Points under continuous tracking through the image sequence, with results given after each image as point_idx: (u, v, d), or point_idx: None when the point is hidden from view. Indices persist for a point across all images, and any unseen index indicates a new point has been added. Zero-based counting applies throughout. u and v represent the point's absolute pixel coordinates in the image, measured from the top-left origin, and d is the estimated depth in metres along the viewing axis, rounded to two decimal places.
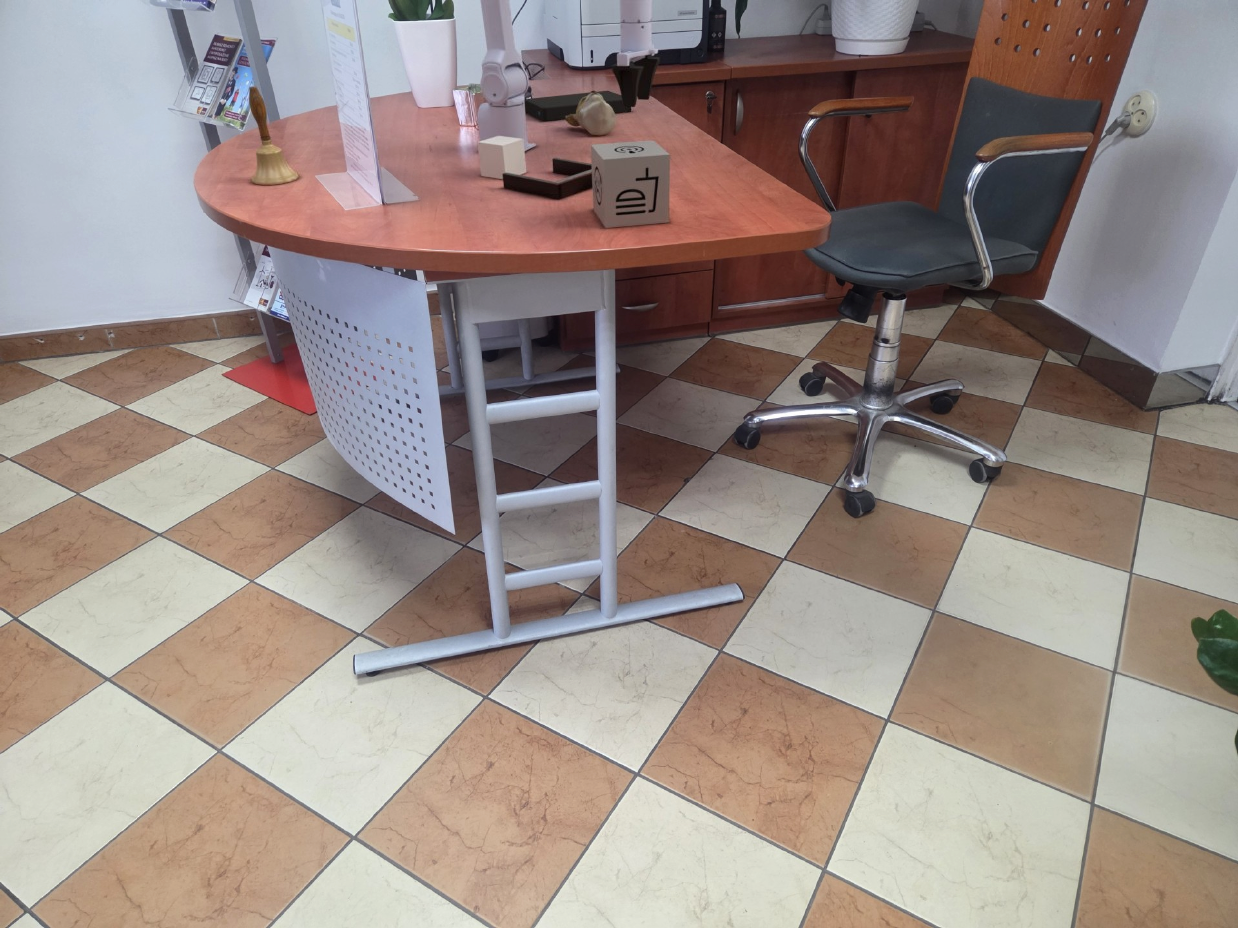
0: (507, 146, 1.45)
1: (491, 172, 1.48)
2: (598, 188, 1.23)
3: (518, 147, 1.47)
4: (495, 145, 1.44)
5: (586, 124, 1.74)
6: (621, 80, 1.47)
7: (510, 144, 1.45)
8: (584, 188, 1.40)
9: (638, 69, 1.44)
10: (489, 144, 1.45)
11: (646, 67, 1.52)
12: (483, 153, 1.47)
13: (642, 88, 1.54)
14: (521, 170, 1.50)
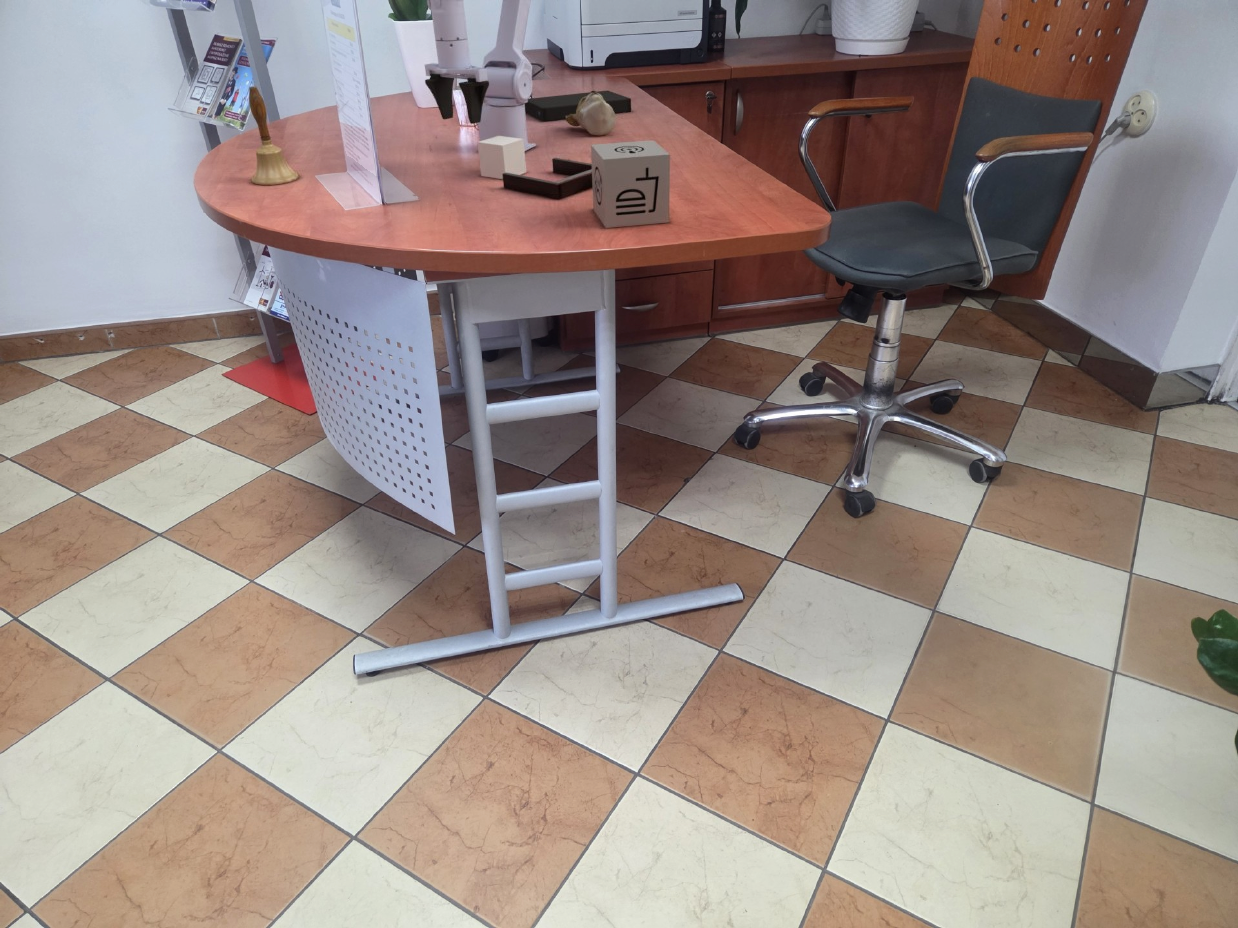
0: (507, 146, 1.45)
1: (491, 172, 1.48)
2: (598, 188, 1.23)
3: (518, 147, 1.47)
4: (495, 145, 1.44)
5: (586, 124, 1.74)
6: None
7: (510, 144, 1.45)
8: (584, 188, 1.40)
9: (425, 81, 1.48)
10: (489, 144, 1.45)
11: None
12: (483, 153, 1.47)
13: None
14: (521, 170, 1.50)
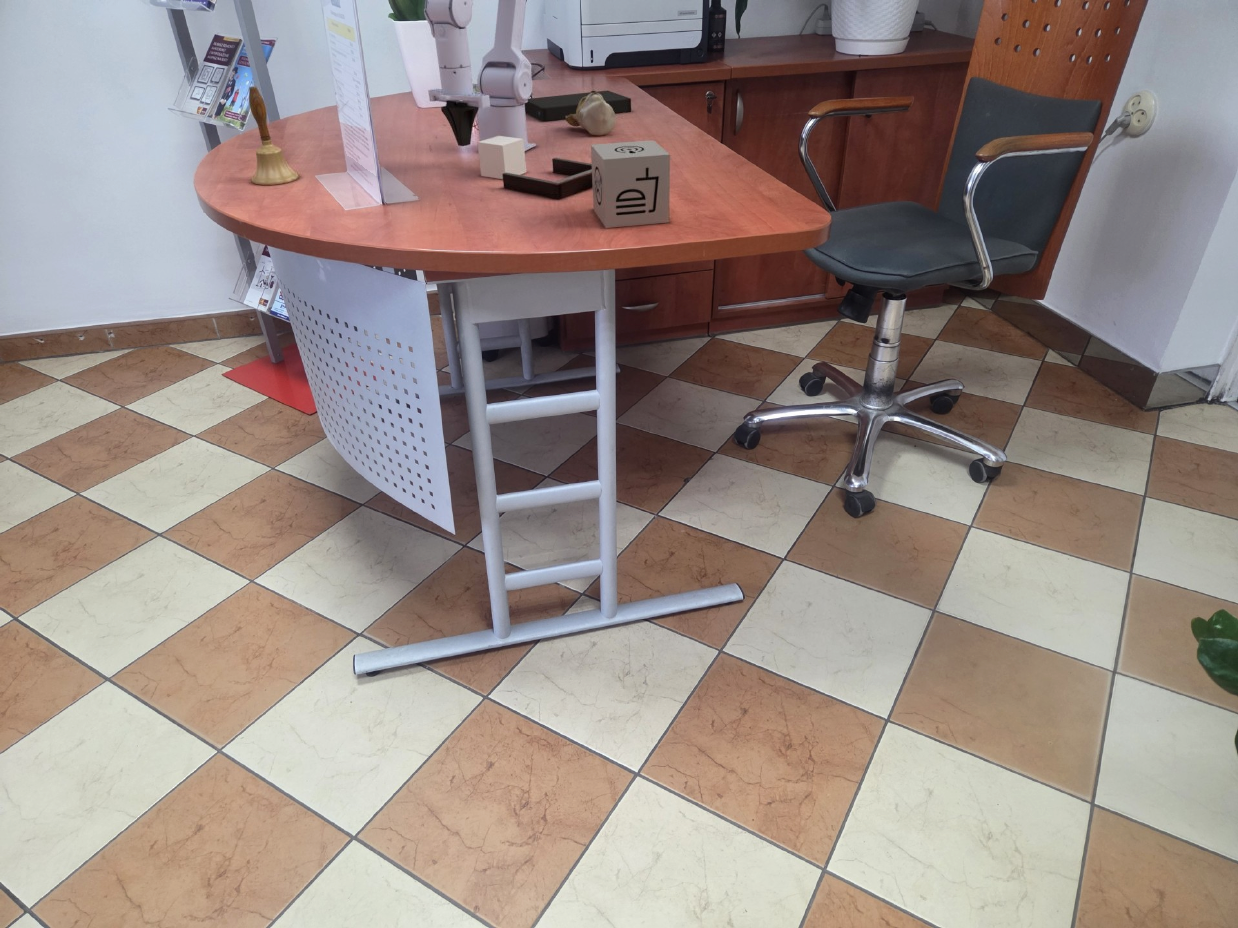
0: (507, 146, 1.45)
1: (491, 172, 1.48)
2: (598, 188, 1.23)
3: (518, 147, 1.47)
4: (495, 145, 1.44)
5: (586, 124, 1.74)
6: None
7: (510, 144, 1.45)
8: (584, 188, 1.40)
9: (441, 108, 1.49)
10: (489, 144, 1.45)
11: None
12: (483, 153, 1.47)
13: None
14: (521, 170, 1.50)
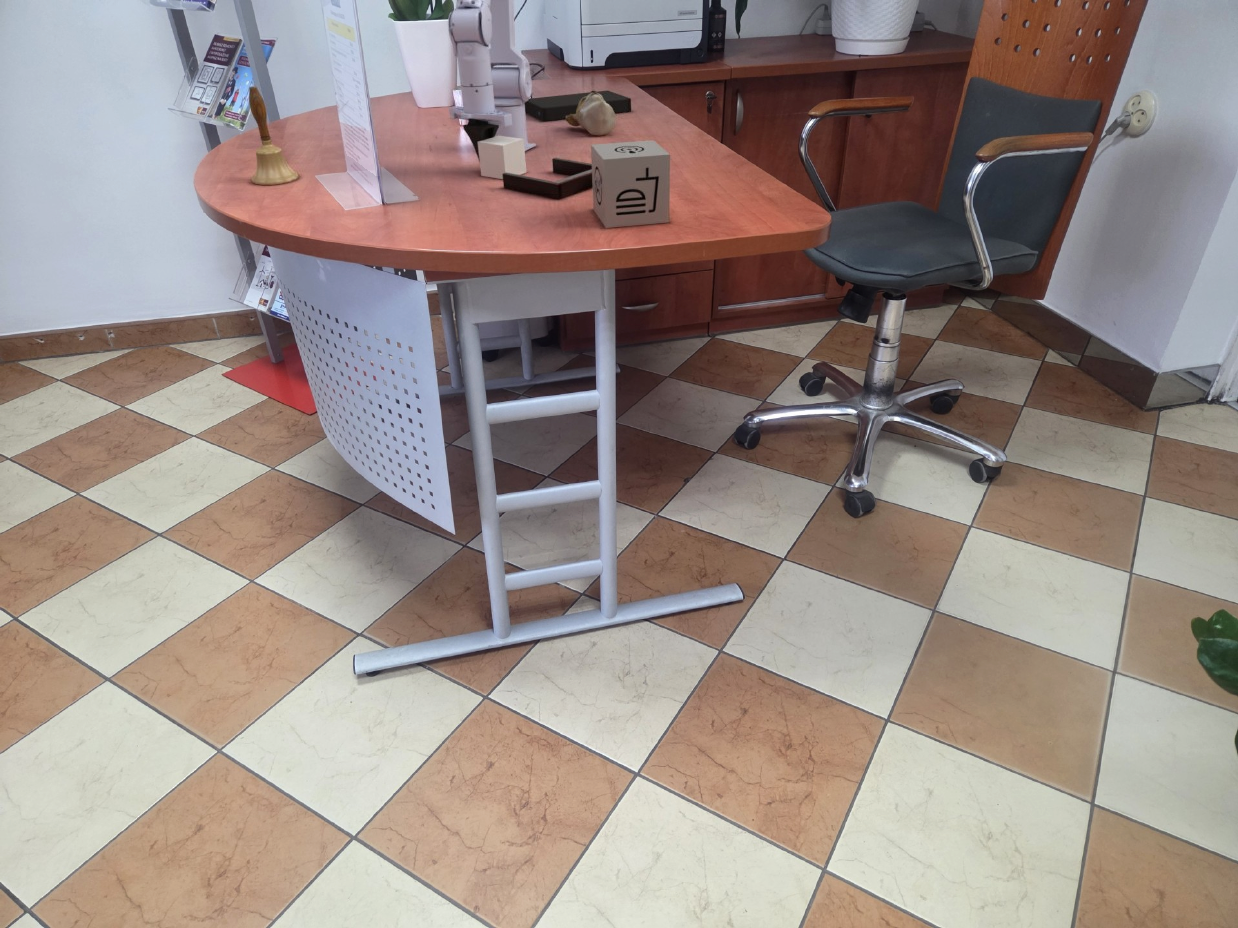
0: (507, 146, 1.45)
1: (491, 172, 1.48)
2: (598, 188, 1.23)
3: (518, 147, 1.47)
4: (495, 145, 1.44)
5: (586, 124, 1.74)
6: None
7: (510, 144, 1.45)
8: (584, 188, 1.40)
9: (463, 127, 1.48)
10: (489, 144, 1.45)
11: None
12: (483, 153, 1.47)
13: None
14: (521, 170, 1.50)
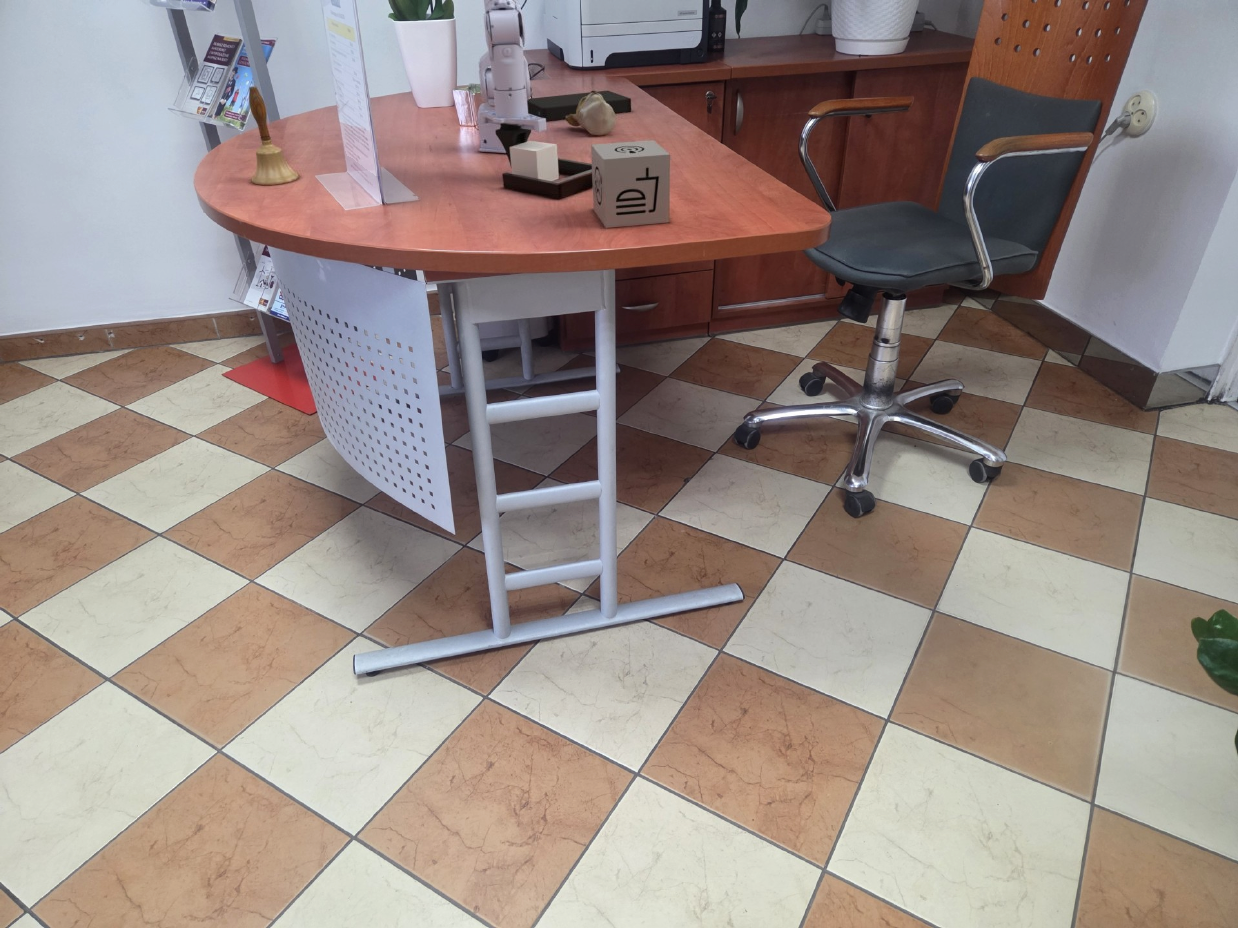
0: (541, 152, 1.40)
1: None
2: (598, 188, 1.23)
3: (551, 153, 1.43)
4: (528, 151, 1.40)
5: (586, 124, 1.74)
6: None
7: (544, 150, 1.41)
8: (584, 188, 1.40)
9: (495, 132, 1.43)
10: (522, 149, 1.41)
11: None
12: (515, 159, 1.42)
13: None
14: (554, 176, 1.45)
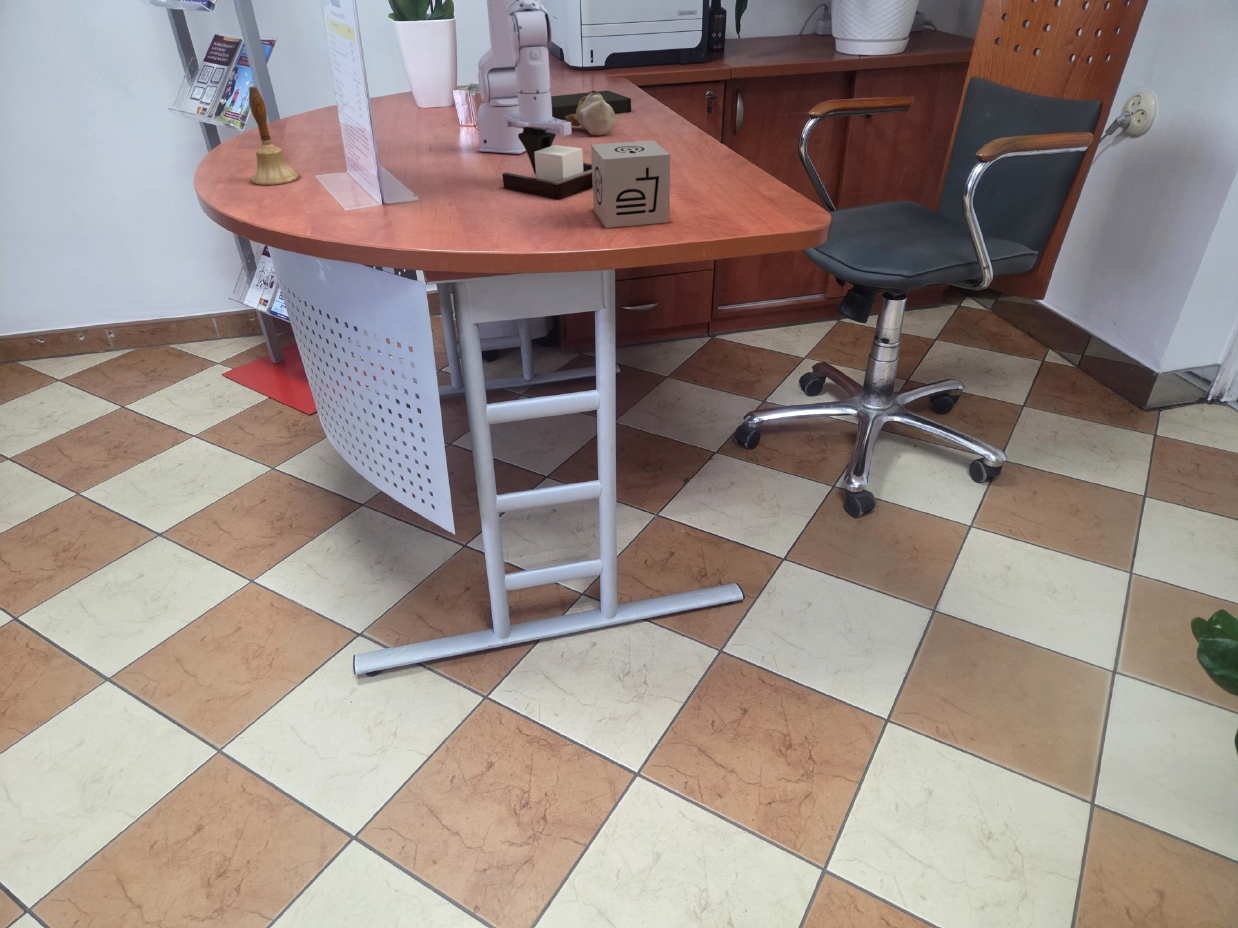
0: (567, 156, 1.37)
1: None
2: (598, 188, 1.23)
3: (577, 157, 1.40)
4: (554, 155, 1.37)
5: (586, 124, 1.74)
6: None
7: (569, 154, 1.38)
8: (584, 188, 1.40)
9: (518, 135, 1.40)
10: (547, 154, 1.38)
11: None
12: (540, 163, 1.39)
13: None
14: None
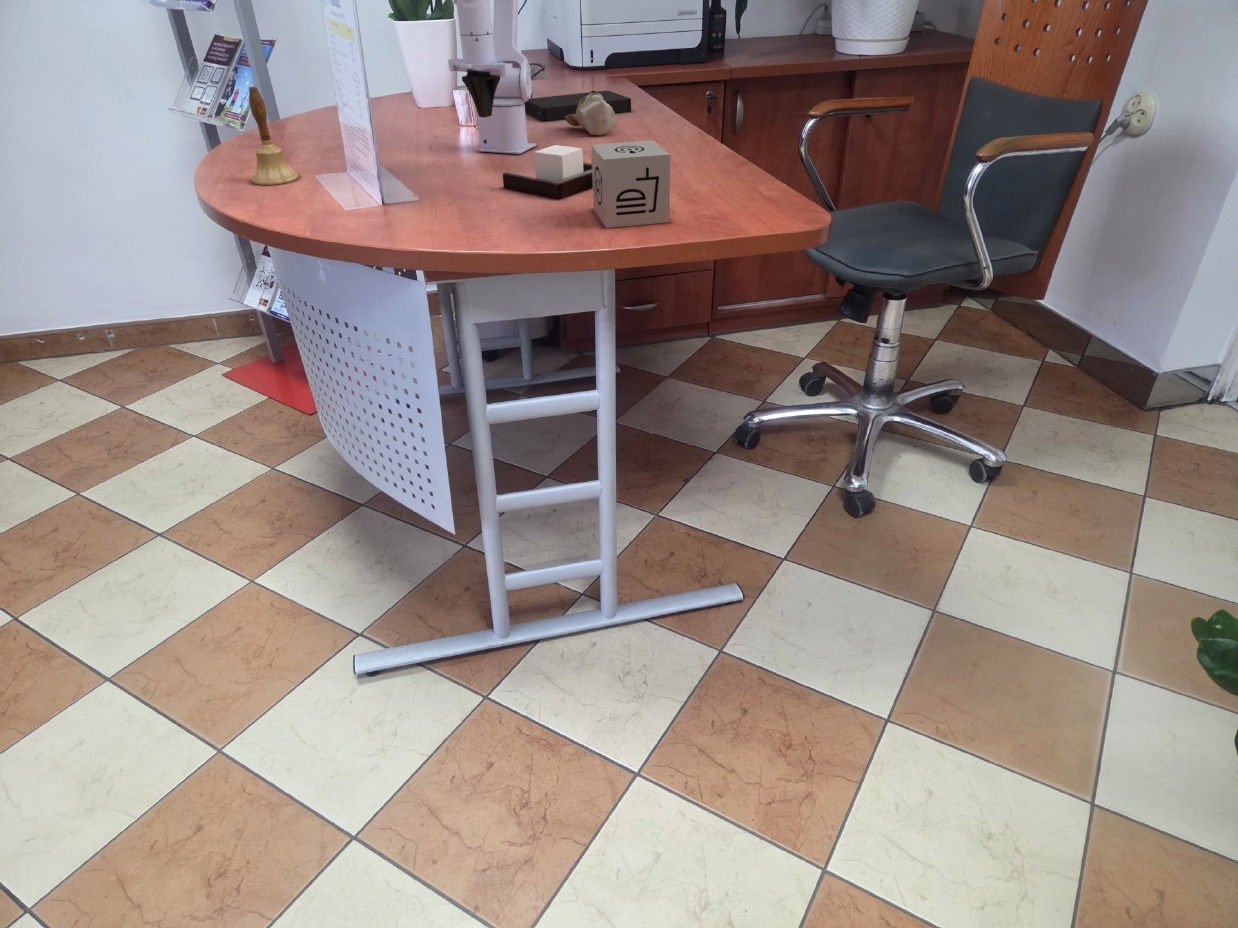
0: (566, 156, 1.37)
1: None
2: (598, 188, 1.23)
3: (577, 157, 1.40)
4: (554, 155, 1.37)
5: (586, 124, 1.74)
6: None
7: (569, 154, 1.38)
8: (584, 188, 1.40)
9: (462, 78, 1.45)
10: (547, 154, 1.38)
11: None
12: (540, 163, 1.39)
13: None
14: None
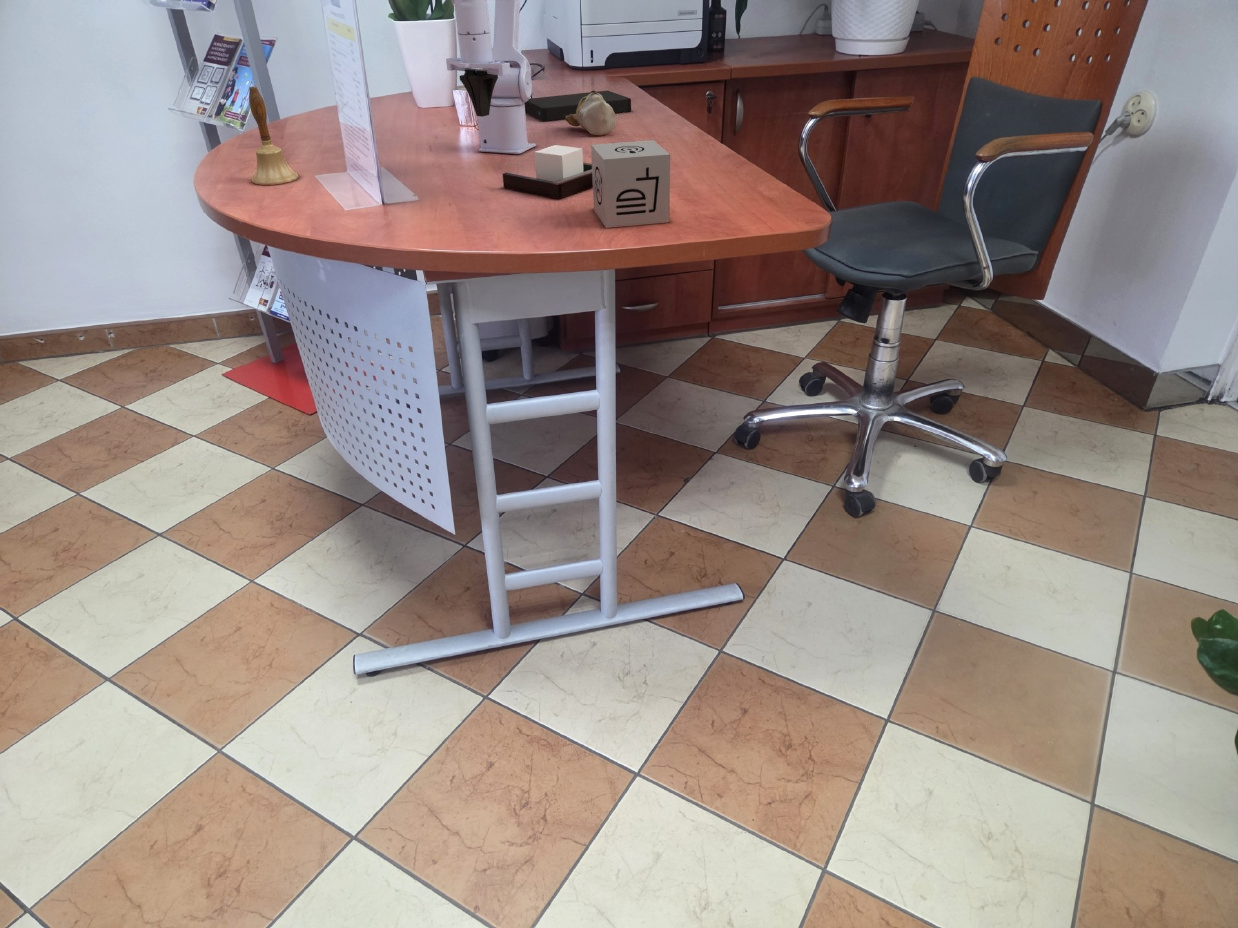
0: (566, 156, 1.37)
1: None
2: (598, 188, 1.23)
3: (577, 157, 1.40)
4: (554, 155, 1.37)
5: (586, 124, 1.74)
6: None
7: (569, 154, 1.38)
8: (584, 188, 1.40)
9: None
10: (547, 154, 1.38)
11: None
12: (540, 163, 1.39)
13: None
14: None
